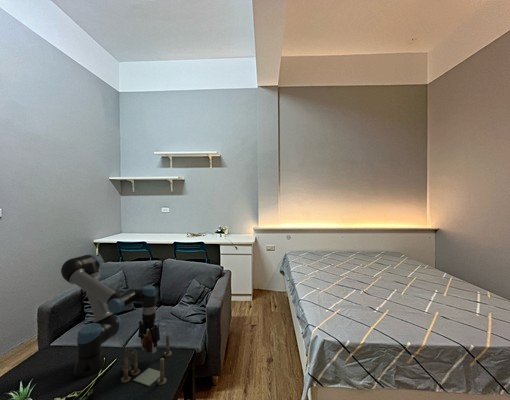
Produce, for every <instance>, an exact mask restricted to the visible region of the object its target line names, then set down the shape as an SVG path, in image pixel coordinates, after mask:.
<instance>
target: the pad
mask: <svg viewBox="0 0 510 400" xmlns="http://www.w3.org/2000/svg"><path fill="white" fill-rule="evenodd" d="M158 379H160V370H157V369H153V368H152V367H151V368H150V367H148V368H147V369H146V370H144V371H143V372H141V373H139V374H138V375H137V376H136V377H135V378H133V381H134V382H135V383H138V384H141V385H144V386H147V387H151V386H152V385H154V383H155V382H157V381H158Z"/></svg>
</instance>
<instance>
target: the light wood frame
mask: <svg viewBox="0 0 510 400" xmlns="http://www.w3.org/2000/svg"><path fill="white" fill-rule="evenodd" d="M124 351H125V352H124V355H125V356H124V357H123V368H122V369H121V370H122V372H123V377H121V379H120V382H121V383H128V382H130V380H131V379H132V377H131V376H138V375H140V374H141V369H139V368H138V365H139V364H138V363H139V362H138V349H136V348H132V347H130V346H129V347H128V346H126V348H125V349H124ZM130 351H131V352H130ZM132 355H133V366H131V365H130V356H132ZM132 369H133V370H132ZM129 372H130V375H131V376H130V375H129Z"/></svg>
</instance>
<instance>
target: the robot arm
mask: <svg viewBox="0 0 510 400" xmlns="http://www.w3.org/2000/svg"><path fill="white" fill-rule="evenodd" d="M101 266H102V265H101V260H100V257H98V256H97V255H95V254H85V255H81V256H77V257H72V258H70V259H67V260H65V262H64V263H63V264H62V265H61V269H60V274H61V275H62V278H63V279H64V280H65V282H68V283H69V284H70V285H76V286H77V287H79V288H81V289H82V290H84V291H85V293H86V296H87V299H88V302H89V306H90V308H91V311H92V314H93V317H94V318H93V321H92V323H91V324H87V325H84V326H83V327H82V328H80V330H79V331H78V333H77V340H76V342H77V343H76V344H77V348H76V349H77V351H76V352H77V358H76V361H75V365H74V367H73V375H74V376H75V377H78V378H85V377H89V376H92V375H96V374H97V373H99V372H101V370H103V369H104V367H105V359H104V355H103V353H102V344H104V343H105V342H107V341H108V340H110V339H111V338H114V337H115V336H116V335H117V334H118V333H120V330H121V328H122V320H121V318H120V317H119V316H118V315H117V314H118V312H121V311H123V310H124V309H125V308H127V307H129V306H131V305H132V304H135V303H140V304H141V308H142V311H141V312H142V314H141V315H142V316H141V320H140V321H138V325H139V327H138V334H137V335H138V336H137V337H138V338H140V343H141V352H142V351H145V349H144V348H143V344H142V343H143V340H144V336H143V334H146V332H147V331H148V330H149V331H150V332H151V336H152V339H153V342H152V352H151V353H152V354H155V353H157V349H156V347H157V348H158V345H157V344H158V342H159V341H160V340H161V336H160V324H159V323H156V317H157V316H156V315H157V314H156V311H157V310H156V309H157V308H156V307H157V306H156V297H157V296H156V295H157V292H156V287H155V286H153V285H146V286H143V287H142V288H141V289H139V288H138V289H137V288H126V289H125V290H124V291H123V292H122V294H120V293H118V292H117V291H115V290H114V289H112V288H110V287H109V286H107V285H106V284H104V283H102V282H101V281H100V278H99V274H100V271H99V269H100V268H101Z"/></svg>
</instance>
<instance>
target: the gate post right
mask: <svg viewBox="0 0 510 400" xmlns="http://www.w3.org/2000/svg"><path fill="white" fill-rule="evenodd" d="M159 371H160V378H159V379H157V380H156V384H157V385H159V386H163V385H165V384H166V383H167V382H168V381H167V377H165V358H163V357H162V358H160V359H159Z"/></svg>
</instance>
